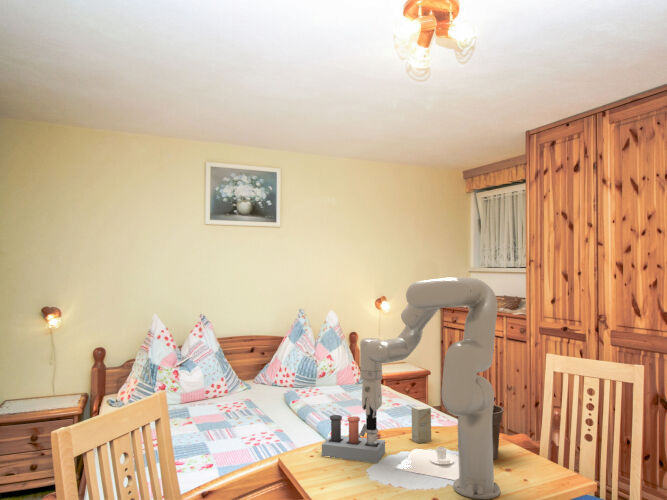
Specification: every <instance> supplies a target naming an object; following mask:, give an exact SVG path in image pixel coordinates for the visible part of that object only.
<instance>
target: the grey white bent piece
mask: <svg viewBox="0 0 667 500" xmlns="http://www.w3.org/2000/svg"><path fill="white" fill-rule="evenodd" d="M366 434H367V433H366V423H363V425H362V428H361V430H360V431H359V438H361V437H362V438H365V435H366ZM347 436H349V433H348V435H347Z"/></svg>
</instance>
